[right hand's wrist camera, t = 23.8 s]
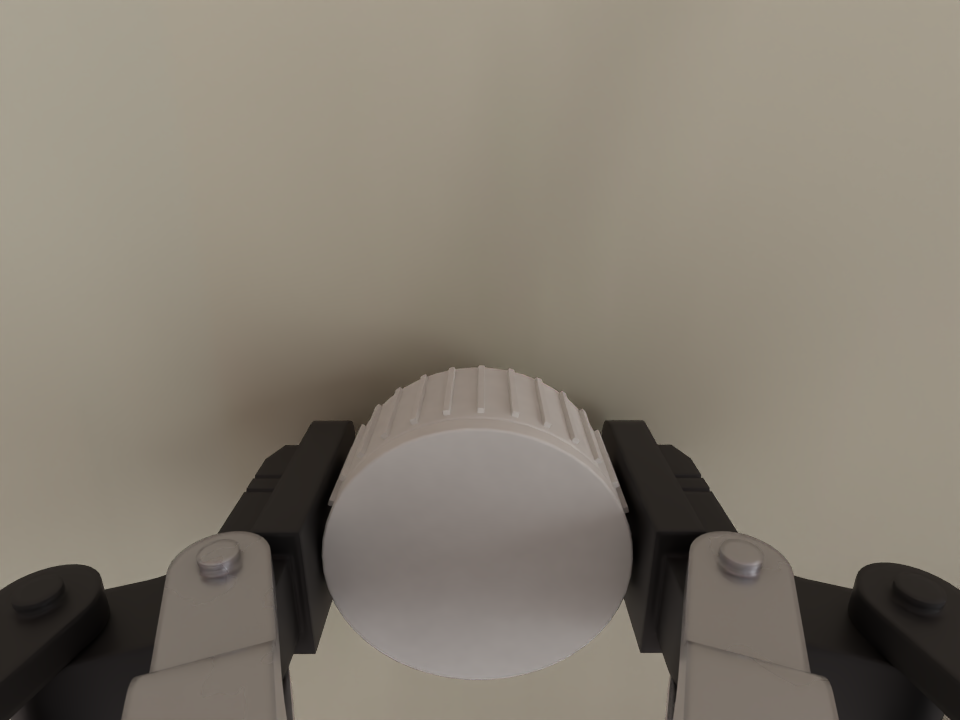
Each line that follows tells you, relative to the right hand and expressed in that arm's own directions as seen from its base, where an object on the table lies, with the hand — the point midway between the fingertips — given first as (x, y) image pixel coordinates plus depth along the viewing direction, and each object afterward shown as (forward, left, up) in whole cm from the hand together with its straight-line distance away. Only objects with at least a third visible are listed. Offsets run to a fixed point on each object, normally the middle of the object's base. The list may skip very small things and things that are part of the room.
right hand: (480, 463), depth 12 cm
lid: (0, 0, +3) cm, 3 cm away
